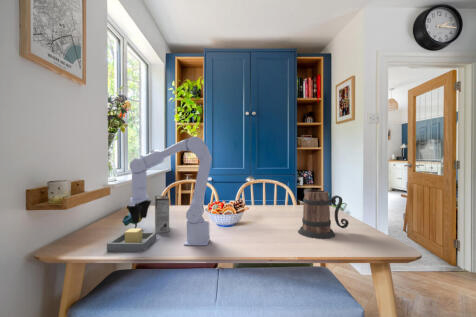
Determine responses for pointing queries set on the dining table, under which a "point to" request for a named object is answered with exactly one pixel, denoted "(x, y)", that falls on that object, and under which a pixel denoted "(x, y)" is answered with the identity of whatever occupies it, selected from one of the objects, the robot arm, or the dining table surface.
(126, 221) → the blue bird figurine
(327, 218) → the tankard
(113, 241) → the tray
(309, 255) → the dining table surface
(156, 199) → the coffee box
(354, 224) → the dining table surface
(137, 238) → the mustard block
